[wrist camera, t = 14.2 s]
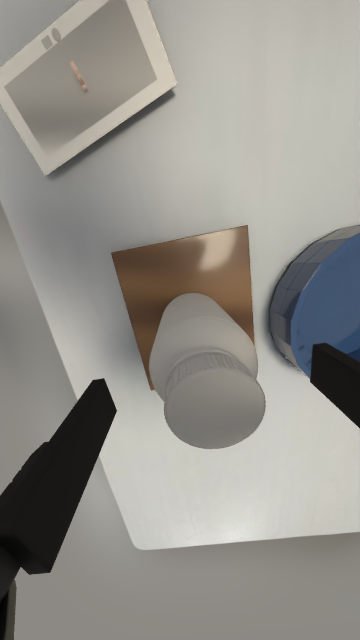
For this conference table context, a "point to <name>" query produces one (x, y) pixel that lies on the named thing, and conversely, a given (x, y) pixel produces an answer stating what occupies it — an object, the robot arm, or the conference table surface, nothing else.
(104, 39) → the touchpad
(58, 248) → the conference table surface
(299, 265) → the bowl
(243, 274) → the mat
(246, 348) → the pill bottle
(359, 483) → the conference table surface
